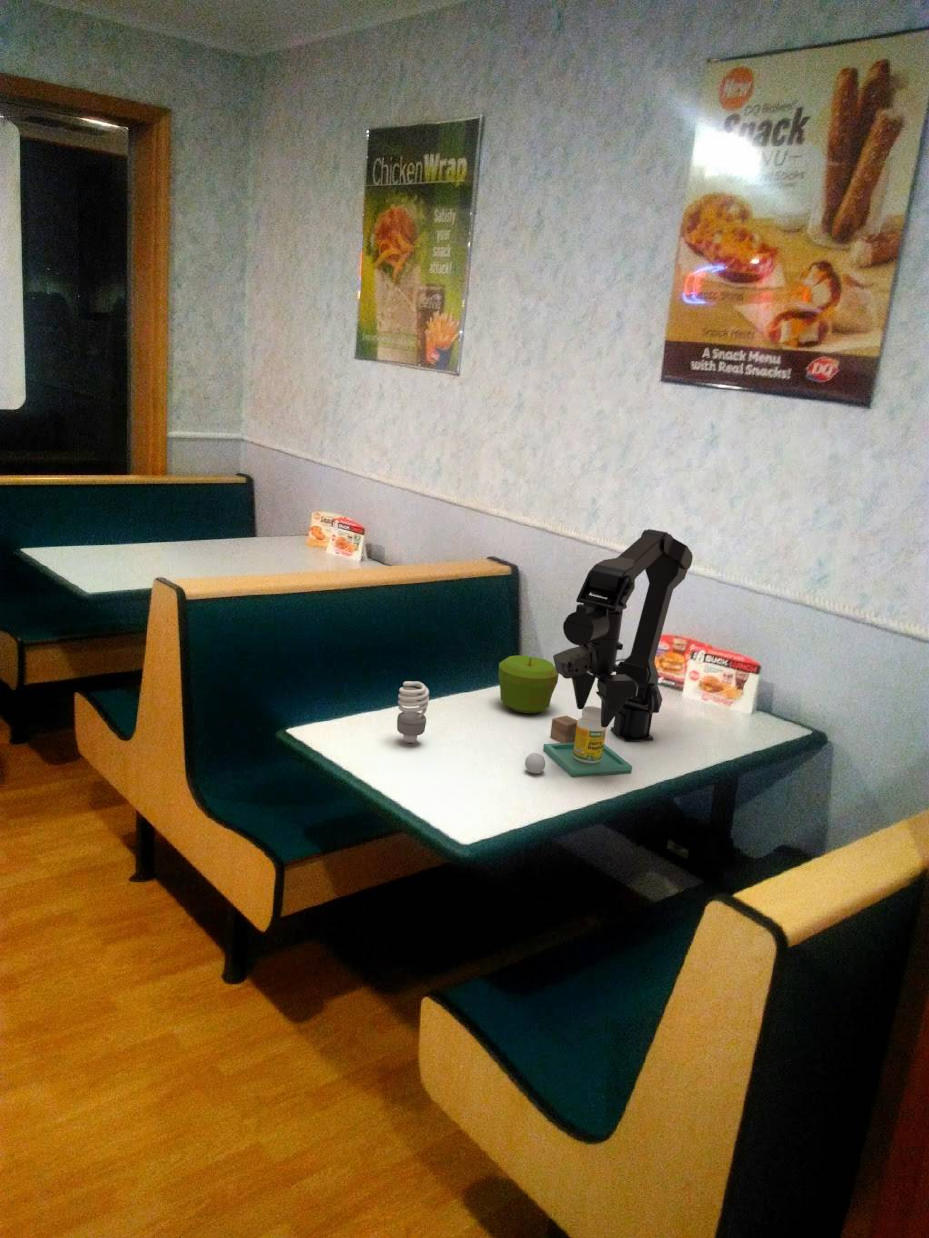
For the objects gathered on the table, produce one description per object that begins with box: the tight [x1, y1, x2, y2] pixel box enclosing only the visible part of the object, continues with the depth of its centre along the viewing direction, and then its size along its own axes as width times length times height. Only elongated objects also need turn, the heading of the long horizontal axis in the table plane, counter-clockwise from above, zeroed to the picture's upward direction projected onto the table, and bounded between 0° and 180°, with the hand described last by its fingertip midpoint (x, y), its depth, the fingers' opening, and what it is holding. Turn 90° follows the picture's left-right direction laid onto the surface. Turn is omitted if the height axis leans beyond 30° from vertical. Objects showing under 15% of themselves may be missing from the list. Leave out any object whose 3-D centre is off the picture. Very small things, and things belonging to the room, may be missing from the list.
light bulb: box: [396, 680, 430, 744], centre depth 178 cm, size 6×6×12 cm
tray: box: [542, 742, 633, 778], centre depth 178 cm, size 12×12×1 cm
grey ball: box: [524, 752, 546, 774], centre depth 171 cm, size 4×4×4 cm
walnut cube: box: [549, 714, 579, 743], centre depth 188 cm, size 4×4×4 cm
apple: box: [497, 655, 560, 714], centre depth 202 cm, size 12×12×11 cm
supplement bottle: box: [573, 705, 607, 764], centre depth 177 cm, size 5×5×10 cm
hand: (591, 717), depth 176 cm, fingers open, 9 cm apart
